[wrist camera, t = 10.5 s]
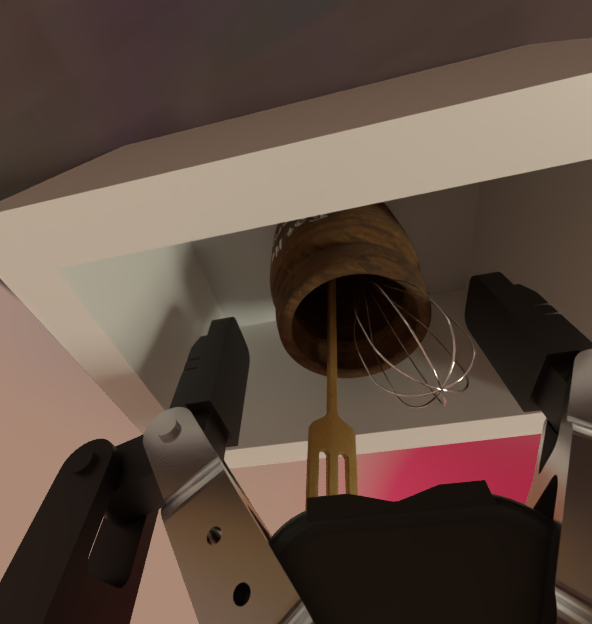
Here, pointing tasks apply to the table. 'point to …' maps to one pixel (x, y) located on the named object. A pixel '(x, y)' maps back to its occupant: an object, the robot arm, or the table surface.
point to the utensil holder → (350, 315)
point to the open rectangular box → (311, 202)
